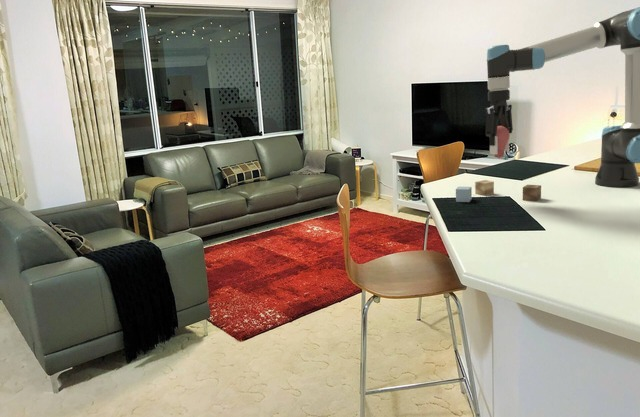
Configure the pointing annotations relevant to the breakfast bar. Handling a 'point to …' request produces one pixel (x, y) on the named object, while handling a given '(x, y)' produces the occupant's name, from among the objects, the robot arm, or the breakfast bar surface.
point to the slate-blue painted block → (463, 194)
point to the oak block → (484, 187)
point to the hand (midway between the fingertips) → (499, 152)
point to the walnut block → (532, 192)
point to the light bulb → (501, 140)
